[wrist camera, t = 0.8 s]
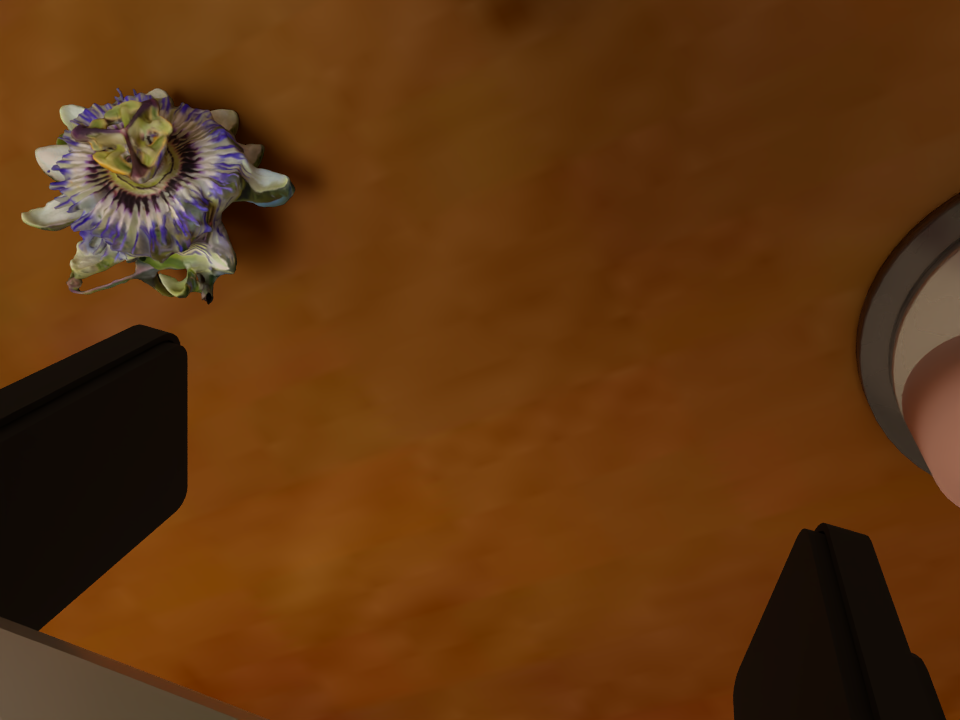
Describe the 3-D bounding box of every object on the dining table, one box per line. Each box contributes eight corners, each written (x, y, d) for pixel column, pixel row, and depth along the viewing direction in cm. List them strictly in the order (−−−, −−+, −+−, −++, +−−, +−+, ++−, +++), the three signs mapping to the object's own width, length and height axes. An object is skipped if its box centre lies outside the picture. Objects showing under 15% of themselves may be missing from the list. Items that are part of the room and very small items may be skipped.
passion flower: (282, 117, 42) (312, 131, 32) (253, 296, 45) (271, 363, 35) (61, 62, 38) (10, 57, 27) (44, 265, 41) (-8, 331, 30)
